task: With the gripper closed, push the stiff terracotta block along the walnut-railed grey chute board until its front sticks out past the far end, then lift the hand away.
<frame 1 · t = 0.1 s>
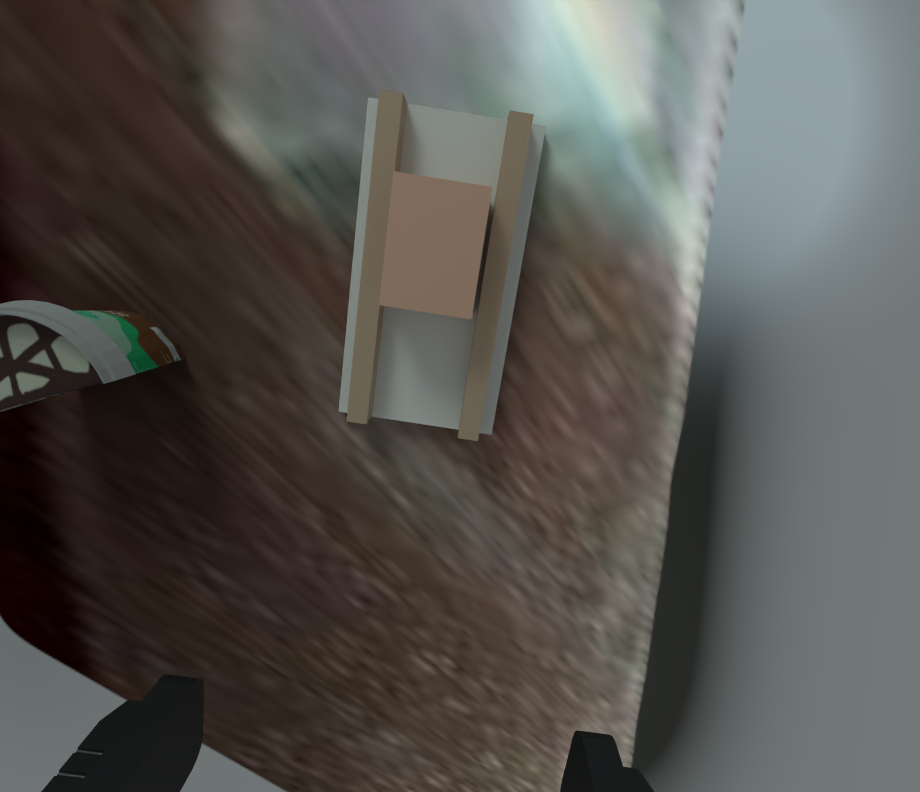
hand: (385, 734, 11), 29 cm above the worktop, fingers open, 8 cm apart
chute: (435, 279, 37), on the worktop
food container: (116, 335, 38), on the worktop
jammed block: (436, 249, 33), point 3 cm above the worktop, slide at 0.0 cm
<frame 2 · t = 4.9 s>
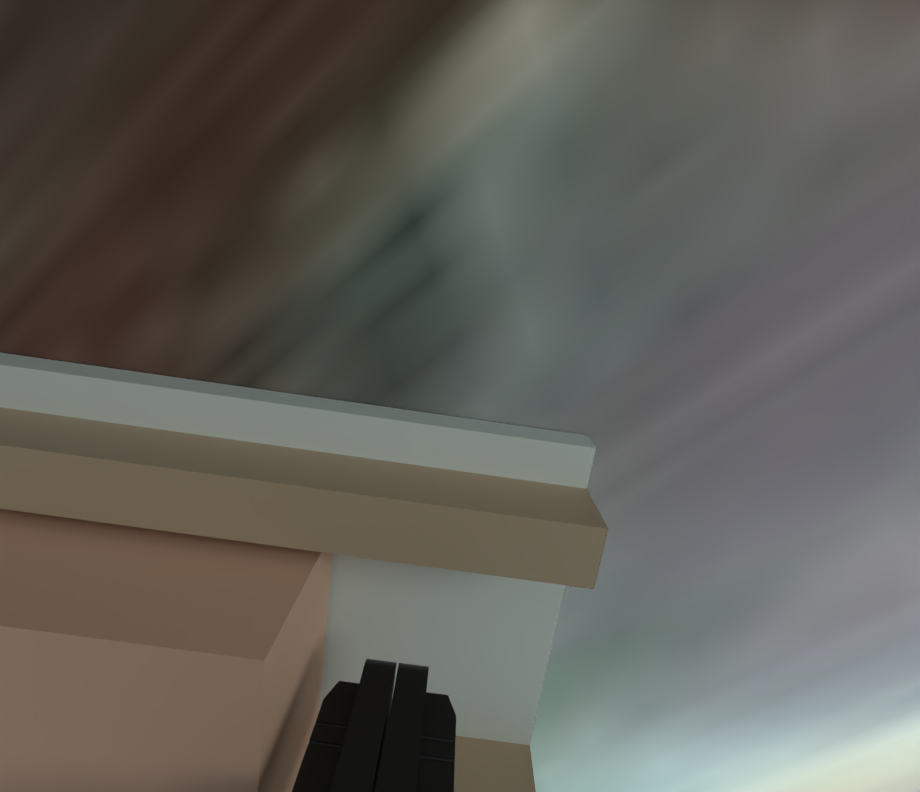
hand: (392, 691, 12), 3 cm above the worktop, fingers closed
chute: (176, 574, 14), on the worktop
jammed block: (123, 670, 11), point 3 cm above the worktop, slide at 1.2 cm, touching gripper
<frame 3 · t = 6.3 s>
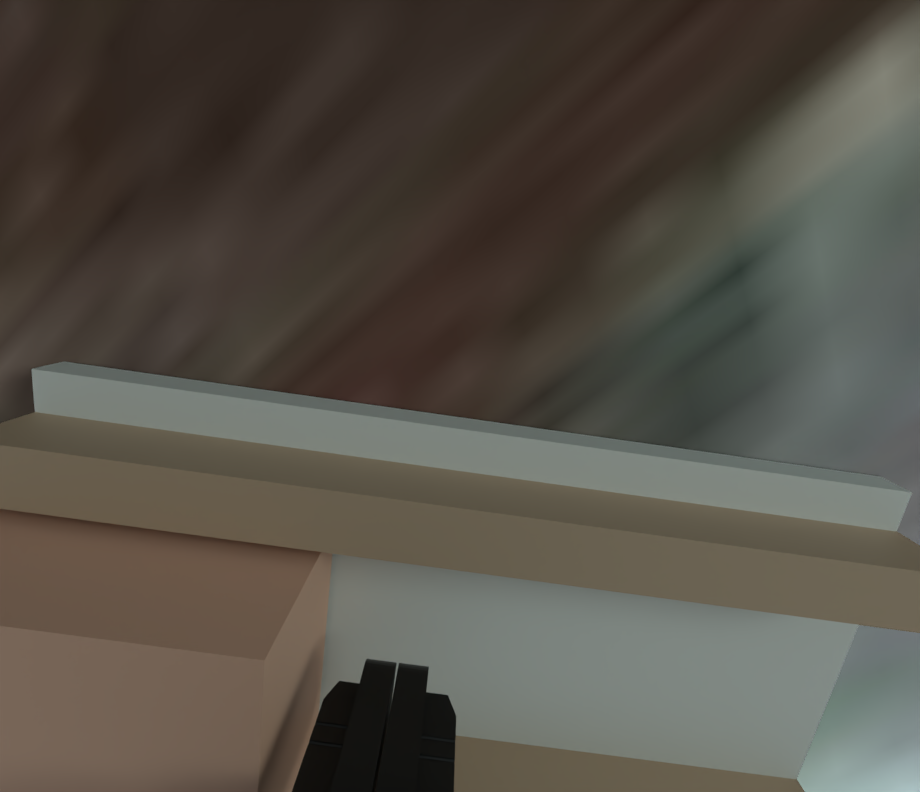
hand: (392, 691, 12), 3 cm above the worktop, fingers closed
chute: (448, 611, 15), on the worktop
jammed block: (122, 670, 11), point 3 cm above the worktop, slide at 9.3 cm, touching gripper
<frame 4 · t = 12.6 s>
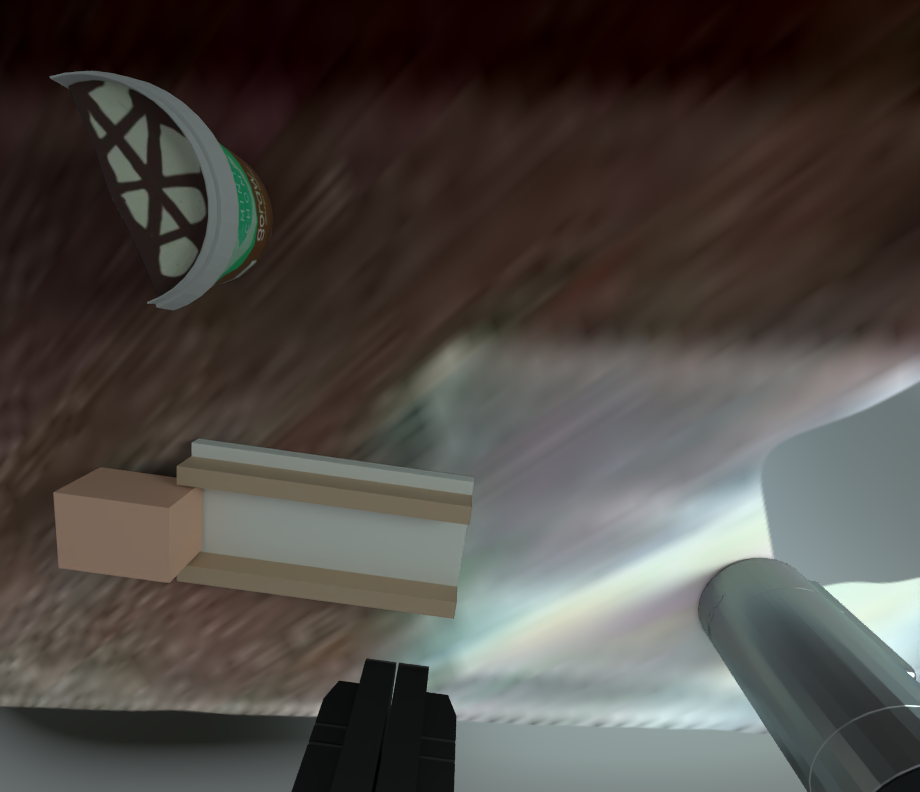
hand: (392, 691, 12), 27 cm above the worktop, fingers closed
chute: (331, 525, 41), on the worktop
food container: (245, 204, 35), on the worktop
jammed block: (133, 522, 37), point 3 cm above the worktop, slide at 16.0 cm
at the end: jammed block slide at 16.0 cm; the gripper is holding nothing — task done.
